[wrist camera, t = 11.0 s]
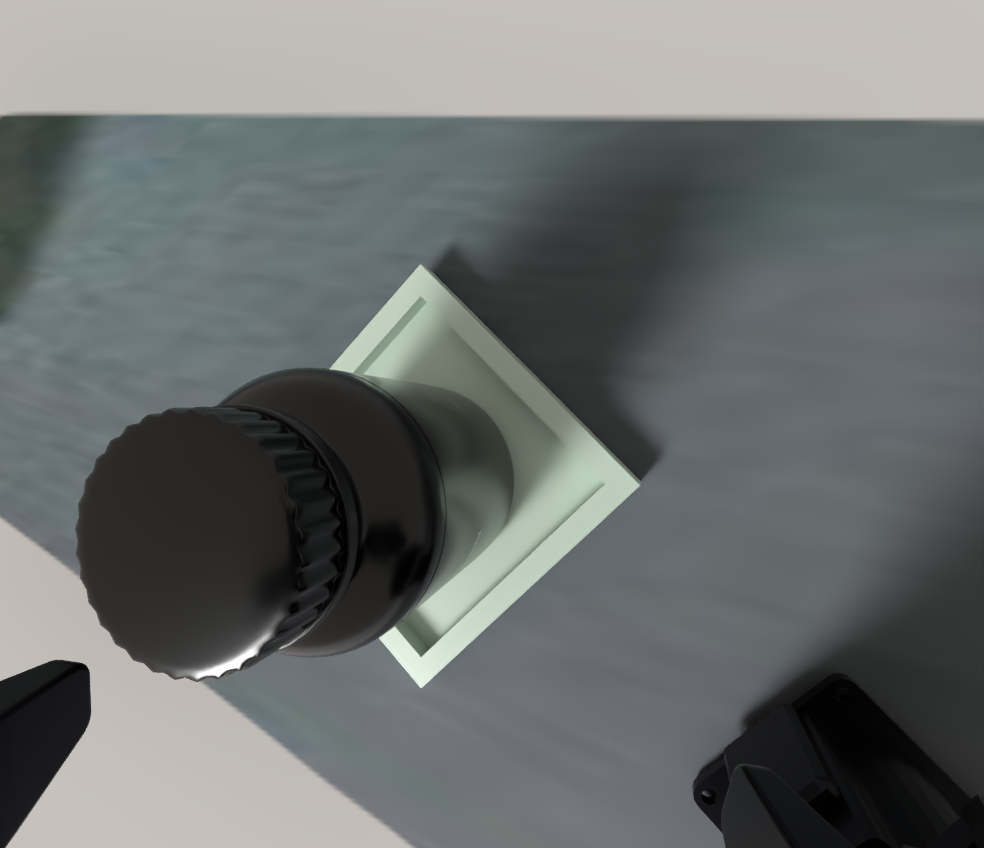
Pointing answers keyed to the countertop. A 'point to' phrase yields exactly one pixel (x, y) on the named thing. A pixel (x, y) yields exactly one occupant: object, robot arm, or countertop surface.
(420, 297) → the sage tray
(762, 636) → the countertop surface
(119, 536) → the supplement bottle
